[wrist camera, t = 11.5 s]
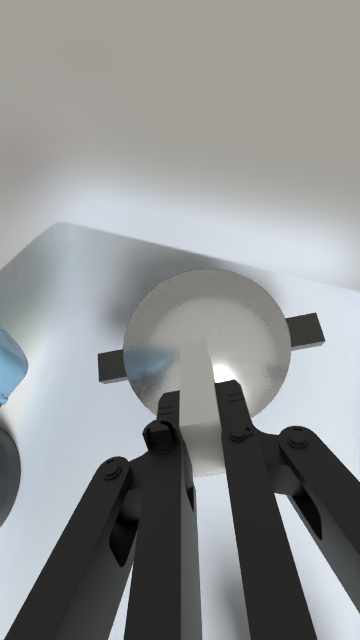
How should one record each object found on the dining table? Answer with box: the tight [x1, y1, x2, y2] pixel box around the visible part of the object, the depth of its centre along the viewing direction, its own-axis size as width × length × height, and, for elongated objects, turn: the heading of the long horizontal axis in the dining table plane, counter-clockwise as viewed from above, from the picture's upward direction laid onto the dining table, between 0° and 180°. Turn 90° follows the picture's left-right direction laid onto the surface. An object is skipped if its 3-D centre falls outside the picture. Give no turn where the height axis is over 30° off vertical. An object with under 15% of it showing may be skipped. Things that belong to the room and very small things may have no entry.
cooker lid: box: [123, 269, 291, 418], centre depth 29 cm, size 16×17×1 cm
